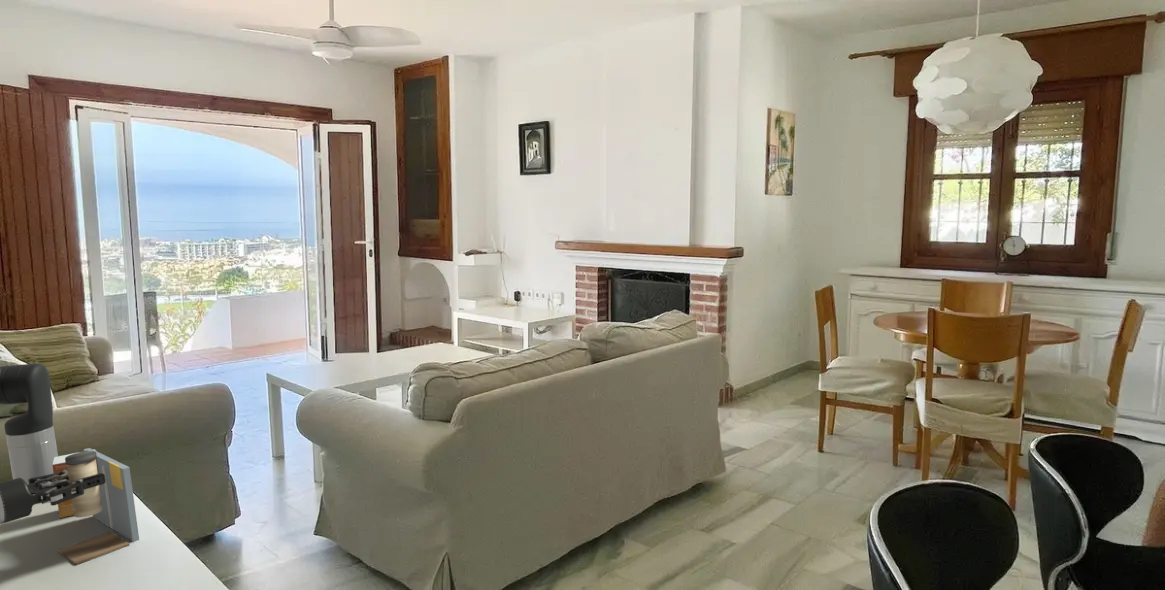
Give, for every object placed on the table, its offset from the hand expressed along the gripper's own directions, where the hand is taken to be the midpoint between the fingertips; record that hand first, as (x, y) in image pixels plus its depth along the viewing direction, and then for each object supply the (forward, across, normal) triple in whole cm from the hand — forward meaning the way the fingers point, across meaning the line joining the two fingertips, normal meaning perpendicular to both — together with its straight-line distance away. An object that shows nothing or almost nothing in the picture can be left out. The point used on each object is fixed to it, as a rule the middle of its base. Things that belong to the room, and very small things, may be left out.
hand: (98, 475), depth 146 cm
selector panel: (+4, +7, +15) cm, 17 cm away
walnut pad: (-2, 0, +15) cm, 15 cm away
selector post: (-3, 0, +7) cm, 7 cm away
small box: (+3, +25, +15) cm, 30 cm away
